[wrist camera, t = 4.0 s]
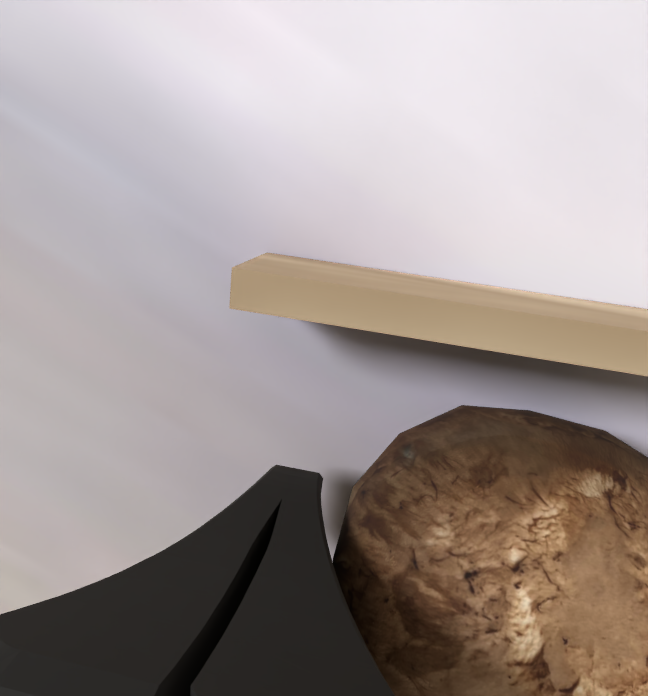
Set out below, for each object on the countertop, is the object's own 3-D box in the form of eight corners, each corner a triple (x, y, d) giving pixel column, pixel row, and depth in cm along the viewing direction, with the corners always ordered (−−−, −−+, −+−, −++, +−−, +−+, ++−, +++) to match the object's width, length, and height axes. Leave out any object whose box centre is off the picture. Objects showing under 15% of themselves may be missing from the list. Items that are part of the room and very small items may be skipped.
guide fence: (819, 755, 13) (955, 938, 10) (235, 618, 15) (189, 736, 12) (1083, 374, 10) (1441, 467, 6) (267, 252, 11) (212, 276, 8)
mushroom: (468, 822, 11) (614, 1153, 6) (274, 541, 14) (230, 565, 8) (682, 595, 13) (975, 667, 7) (477, 375, 15) (571, 287, 9)
